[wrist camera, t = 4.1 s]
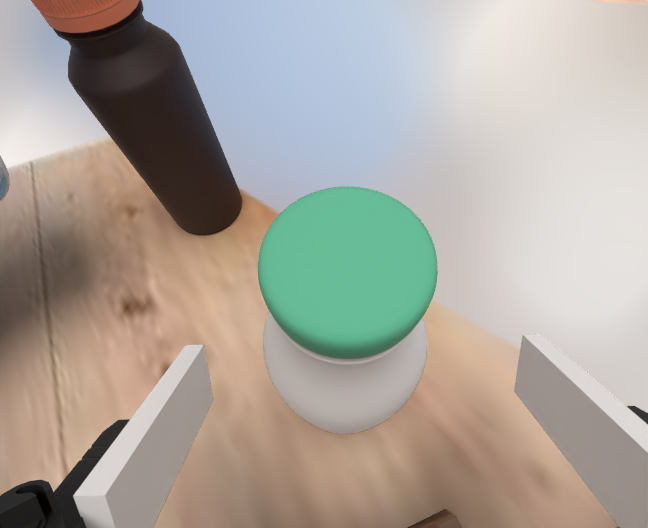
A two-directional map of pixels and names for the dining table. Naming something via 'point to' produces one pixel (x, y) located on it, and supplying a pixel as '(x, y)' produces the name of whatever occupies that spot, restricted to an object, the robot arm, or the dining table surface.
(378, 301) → the milk bottle
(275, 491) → the dining table surface
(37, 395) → the dining table surface
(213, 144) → the vinegar
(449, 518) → the walnut tray
